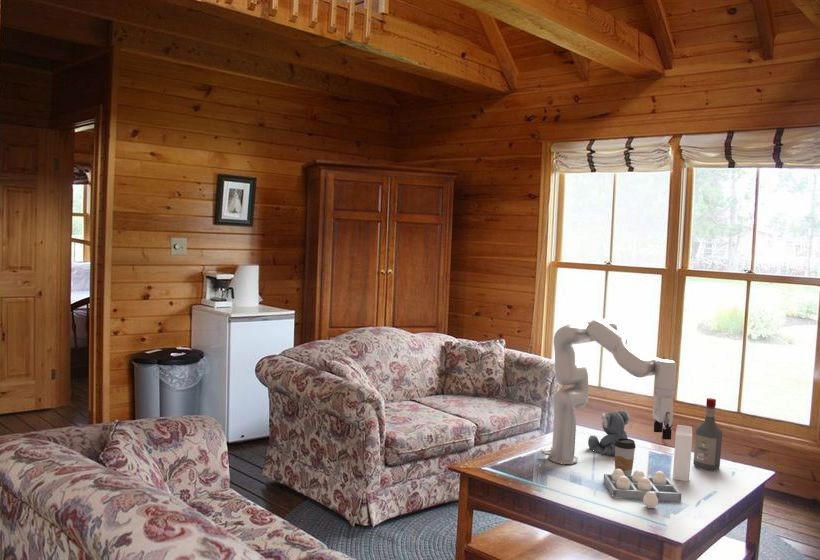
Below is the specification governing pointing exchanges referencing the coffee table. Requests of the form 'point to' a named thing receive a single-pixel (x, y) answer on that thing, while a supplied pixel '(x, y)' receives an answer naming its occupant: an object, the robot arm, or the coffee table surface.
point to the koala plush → (610, 432)
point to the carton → (641, 485)
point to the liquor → (708, 441)
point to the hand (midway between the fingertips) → (662, 435)
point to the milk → (682, 453)
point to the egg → (650, 499)
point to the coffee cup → (624, 455)
